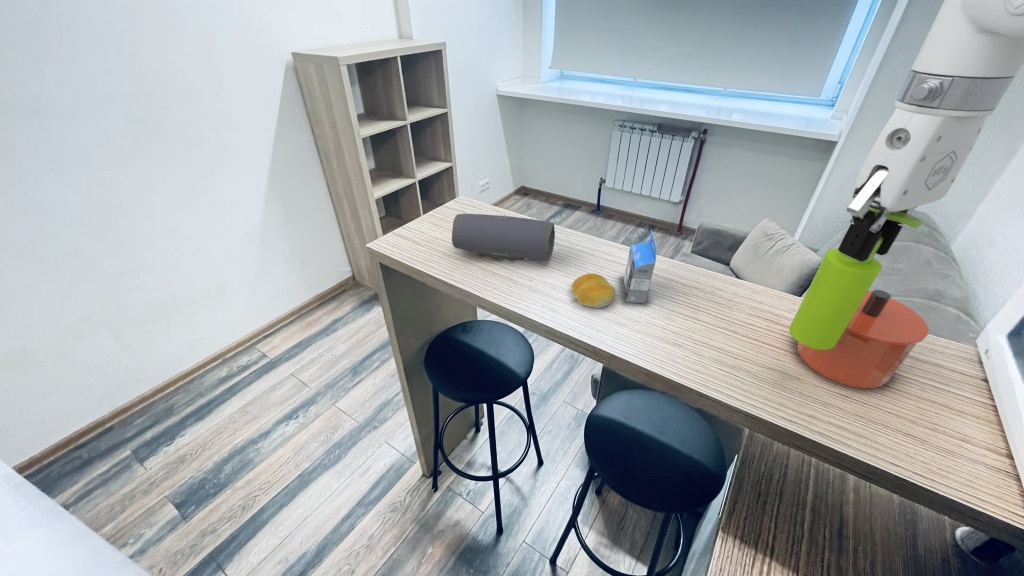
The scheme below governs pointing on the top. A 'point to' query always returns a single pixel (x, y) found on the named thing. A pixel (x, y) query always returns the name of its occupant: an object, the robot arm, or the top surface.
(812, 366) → the pot
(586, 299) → the bread roll
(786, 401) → the top surface
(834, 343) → the soap dispenser
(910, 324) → the pot lid
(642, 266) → the label tape box
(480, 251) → the bluetooth speaker
